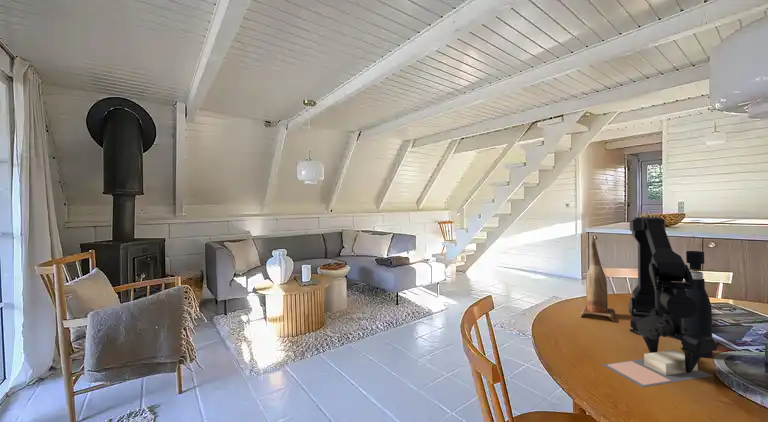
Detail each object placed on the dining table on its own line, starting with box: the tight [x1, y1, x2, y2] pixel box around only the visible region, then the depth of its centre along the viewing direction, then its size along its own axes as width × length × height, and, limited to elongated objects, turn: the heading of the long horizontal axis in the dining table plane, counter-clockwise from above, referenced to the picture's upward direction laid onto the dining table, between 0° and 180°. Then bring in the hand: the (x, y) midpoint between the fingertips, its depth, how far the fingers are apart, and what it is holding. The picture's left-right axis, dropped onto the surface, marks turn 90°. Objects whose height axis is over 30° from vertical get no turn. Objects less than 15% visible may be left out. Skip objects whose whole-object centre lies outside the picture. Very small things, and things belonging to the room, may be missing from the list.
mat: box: [602, 358, 713, 388], centre depth 91 cm, size 21×12×1 cm, turn 101°
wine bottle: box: [682, 250, 714, 359], centre depth 99 cm, size 6×6×30 cm
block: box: [643, 349, 699, 375], centre depth 92 cm, size 10×6×3 cm, turn 101°
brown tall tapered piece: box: [580, 235, 616, 323], centre depth 135 cm, size 11×12×32 cm
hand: (670, 364), depth 92 cm, fingers open, 9 cm apart
